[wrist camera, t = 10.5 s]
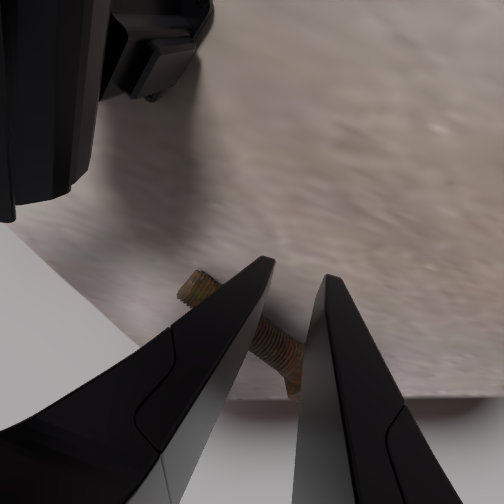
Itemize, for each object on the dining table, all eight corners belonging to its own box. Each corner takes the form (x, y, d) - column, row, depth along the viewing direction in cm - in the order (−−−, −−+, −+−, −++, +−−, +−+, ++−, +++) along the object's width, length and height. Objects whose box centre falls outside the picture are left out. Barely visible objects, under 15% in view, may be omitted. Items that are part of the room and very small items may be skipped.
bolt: (208, 252, 28) (325, 341, 30) (176, 291, 29) (292, 375, 31) (198, 269, 22) (343, 378, 24) (159, 318, 23) (303, 418, 25)
